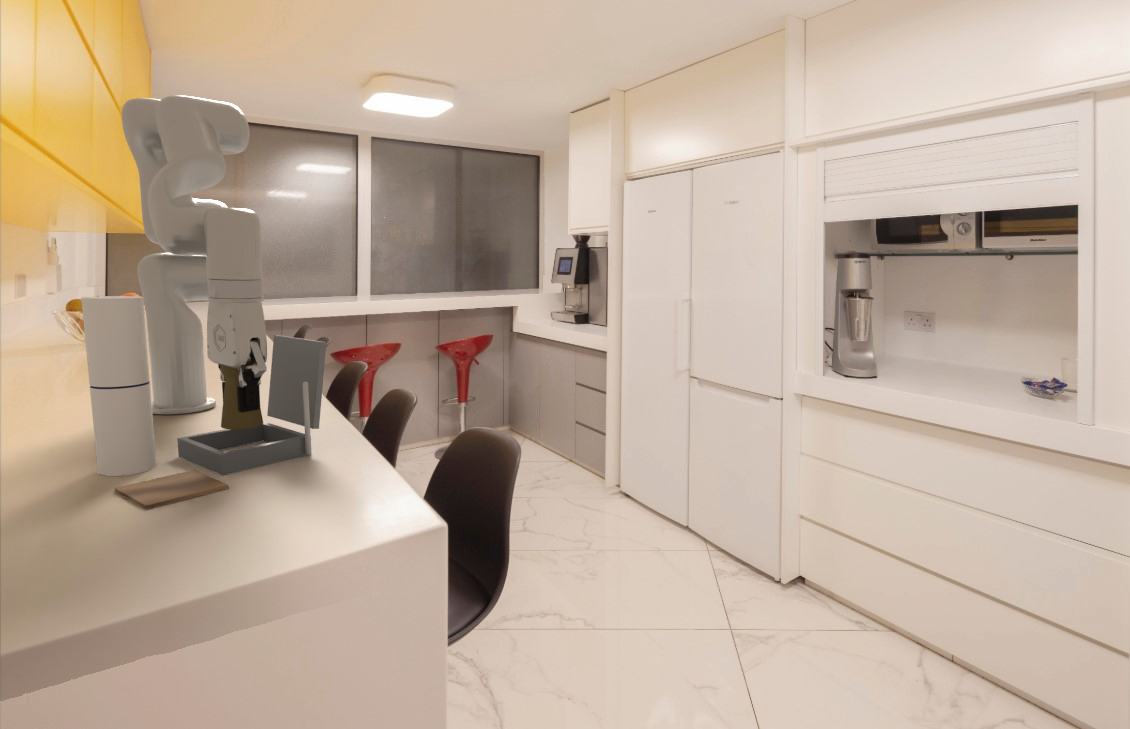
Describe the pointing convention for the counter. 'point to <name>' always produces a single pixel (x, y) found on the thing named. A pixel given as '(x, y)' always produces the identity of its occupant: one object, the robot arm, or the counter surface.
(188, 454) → the case
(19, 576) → the counter surface
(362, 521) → the counter surface
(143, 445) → the cylindrical container
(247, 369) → the robot arm
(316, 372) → the case lid
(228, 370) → the cork
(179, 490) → the walnut pad
